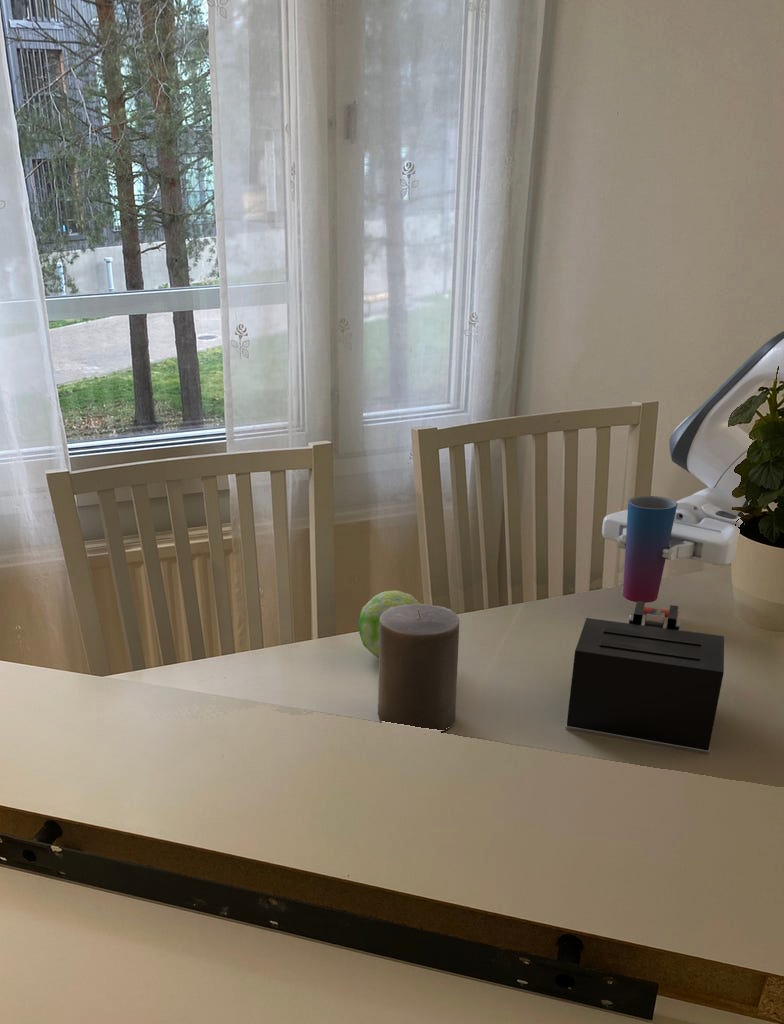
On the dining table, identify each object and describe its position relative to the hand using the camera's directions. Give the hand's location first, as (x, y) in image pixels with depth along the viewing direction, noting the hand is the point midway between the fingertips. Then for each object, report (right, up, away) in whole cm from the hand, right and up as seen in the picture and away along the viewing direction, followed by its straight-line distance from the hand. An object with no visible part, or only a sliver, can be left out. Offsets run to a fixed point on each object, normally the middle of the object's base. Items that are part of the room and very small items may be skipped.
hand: (643, 548), depth 136 cm
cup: (+1, -7, +4) cm, 8 cm away
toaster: (-10, -24, -24) cm, 35 cm away
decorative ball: (-38, -16, -6) cm, 42 cm away
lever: (-5, -12, -17) cm, 21 cm away
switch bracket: (-6, -21, -17) cm, 27 cm away
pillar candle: (-37, -24, -21) cm, 48 cm away
